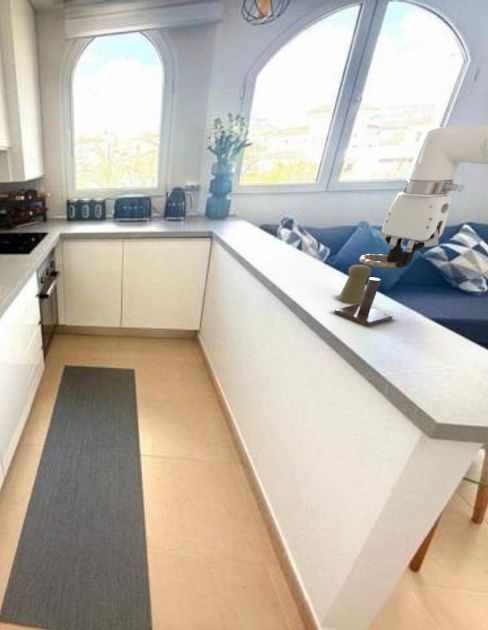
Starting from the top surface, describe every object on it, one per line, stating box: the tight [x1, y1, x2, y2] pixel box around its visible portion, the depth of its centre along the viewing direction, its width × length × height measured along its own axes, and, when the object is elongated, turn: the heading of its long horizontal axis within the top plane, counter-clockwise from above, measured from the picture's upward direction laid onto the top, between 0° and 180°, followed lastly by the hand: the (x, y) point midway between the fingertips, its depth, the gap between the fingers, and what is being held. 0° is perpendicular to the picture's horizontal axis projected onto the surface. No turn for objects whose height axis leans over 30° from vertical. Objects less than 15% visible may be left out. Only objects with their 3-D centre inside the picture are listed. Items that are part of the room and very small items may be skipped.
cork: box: [338, 264, 372, 305], centre depth 104 cm, size 6×6×11 cm
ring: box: [358, 253, 398, 268], centre depth 89 cm, size 9×9×1 cm
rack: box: [334, 277, 394, 327], centre depth 94 cm, size 9×9×11 cm
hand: (396, 264), depth 86 cm, fingers closed on ring, 1 cm apart
